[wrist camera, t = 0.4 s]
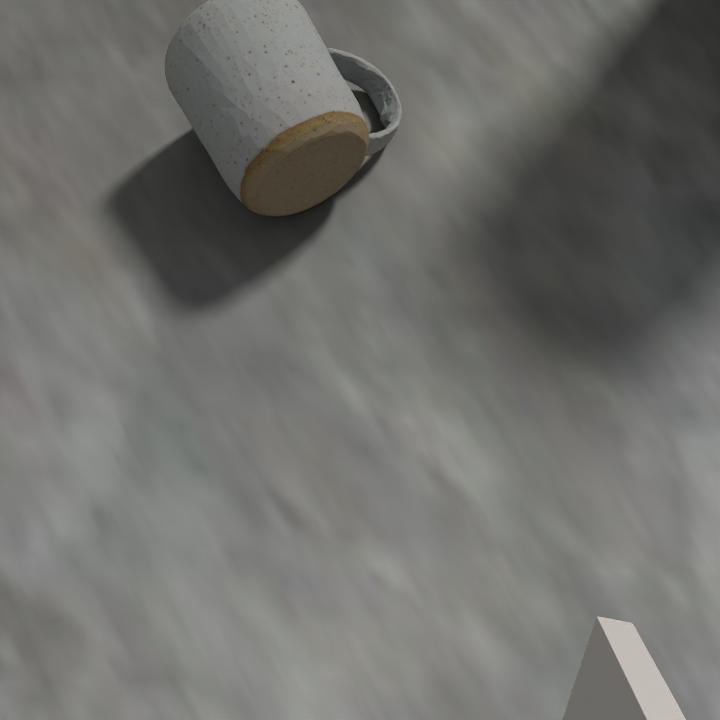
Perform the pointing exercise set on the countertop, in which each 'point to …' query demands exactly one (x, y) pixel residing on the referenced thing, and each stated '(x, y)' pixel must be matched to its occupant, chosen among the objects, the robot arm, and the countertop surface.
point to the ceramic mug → (275, 102)
